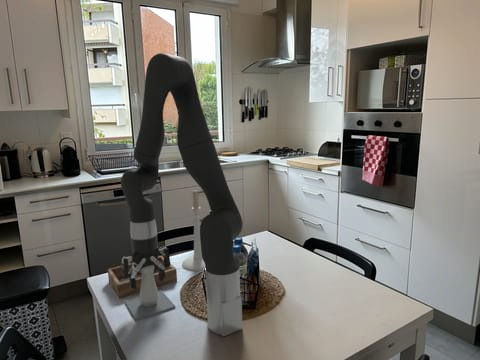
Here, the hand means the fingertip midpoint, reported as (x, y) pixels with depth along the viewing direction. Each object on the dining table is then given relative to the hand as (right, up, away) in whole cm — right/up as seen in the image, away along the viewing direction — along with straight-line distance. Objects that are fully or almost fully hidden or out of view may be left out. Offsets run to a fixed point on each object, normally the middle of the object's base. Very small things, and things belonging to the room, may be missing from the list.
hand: (148, 284), depth 106 cm
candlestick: (+12, -1, +30) cm, 32 cm away
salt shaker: (0, -7, +1) cm, 7 cm away
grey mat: (0, -7, +1) cm, 7 cm away
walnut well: (-6, -4, +16) cm, 18 cm away
